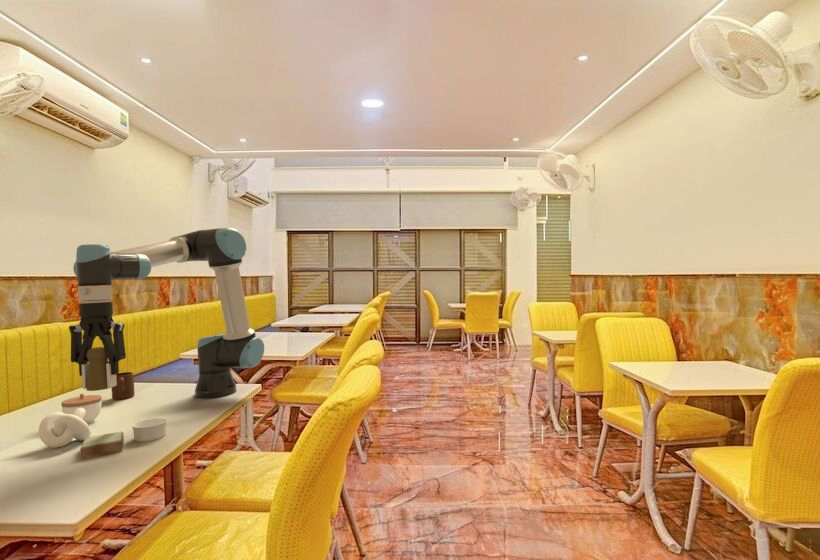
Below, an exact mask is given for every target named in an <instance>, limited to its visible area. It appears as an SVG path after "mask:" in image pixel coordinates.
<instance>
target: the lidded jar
mask: <svg viewBox="0 0 820 560" xmlns="http://www.w3.org/2000/svg"><path fill="white" fill-rule="evenodd" d="M102 399H103V397H102V396H101V395H99V394H87V395H84V393H80V394H79V396H75V397H71V398H70V397H69V398H67V399H66V400H65V399H64V400H63V401H61V411H62V412H61V413H65V414H73V413H74V411H75V410H76V409H78V408H84V409H85V410H86V414H85V416H84V418H83V420H84V421H85V422H86V423H87V424H88V425H89V424H91V423H93V422H95V420H96V419H97V418H98V416H99V415H100V413H101V410H102Z"/></svg>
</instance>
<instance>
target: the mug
mask: <svg viewBox="0 0 820 560" xmlns="http://www.w3.org/2000/svg"><path fill="white" fill-rule="evenodd" d="M116 380H117V386H114V387H111V399H112V400H113V401H120V400H121V401H122V400H126V399H127V400H128V399H131V398H133V397H134V396H135V377H134V372H132V371H126V372H118V374H116Z"/></svg>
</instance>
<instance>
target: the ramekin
mask: <svg viewBox="0 0 820 560" xmlns="http://www.w3.org/2000/svg"><path fill="white" fill-rule="evenodd" d="M167 422H168V419H167V418H164V417H157V418H149V419H145V420H144V419H143V420H141V421H138V422H134V423H133V424H132V425H131V428H132V431H133V438H134V441H136V442H140V443H143V442H144V443H146V442H151V441H155V440H158V439H162V438H163V437H165V435H166V433H167Z"/></svg>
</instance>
